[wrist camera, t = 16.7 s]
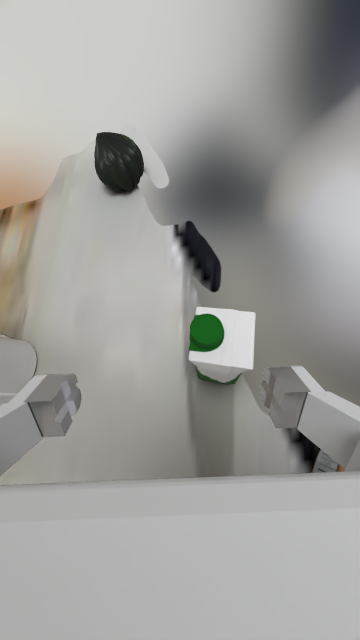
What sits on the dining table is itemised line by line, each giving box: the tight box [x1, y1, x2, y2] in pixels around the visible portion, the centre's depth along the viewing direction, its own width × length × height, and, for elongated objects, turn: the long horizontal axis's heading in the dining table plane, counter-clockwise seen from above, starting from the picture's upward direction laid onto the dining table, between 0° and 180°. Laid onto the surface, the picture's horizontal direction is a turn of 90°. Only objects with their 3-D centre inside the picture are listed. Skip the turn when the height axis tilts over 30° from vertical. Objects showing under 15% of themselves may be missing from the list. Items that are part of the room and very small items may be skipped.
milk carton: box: [188, 307, 255, 384], centre depth 34 cm, size 9×9×20 cm
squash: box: [95, 132, 144, 192], centre depth 65 cm, size 14×15×15 cm
